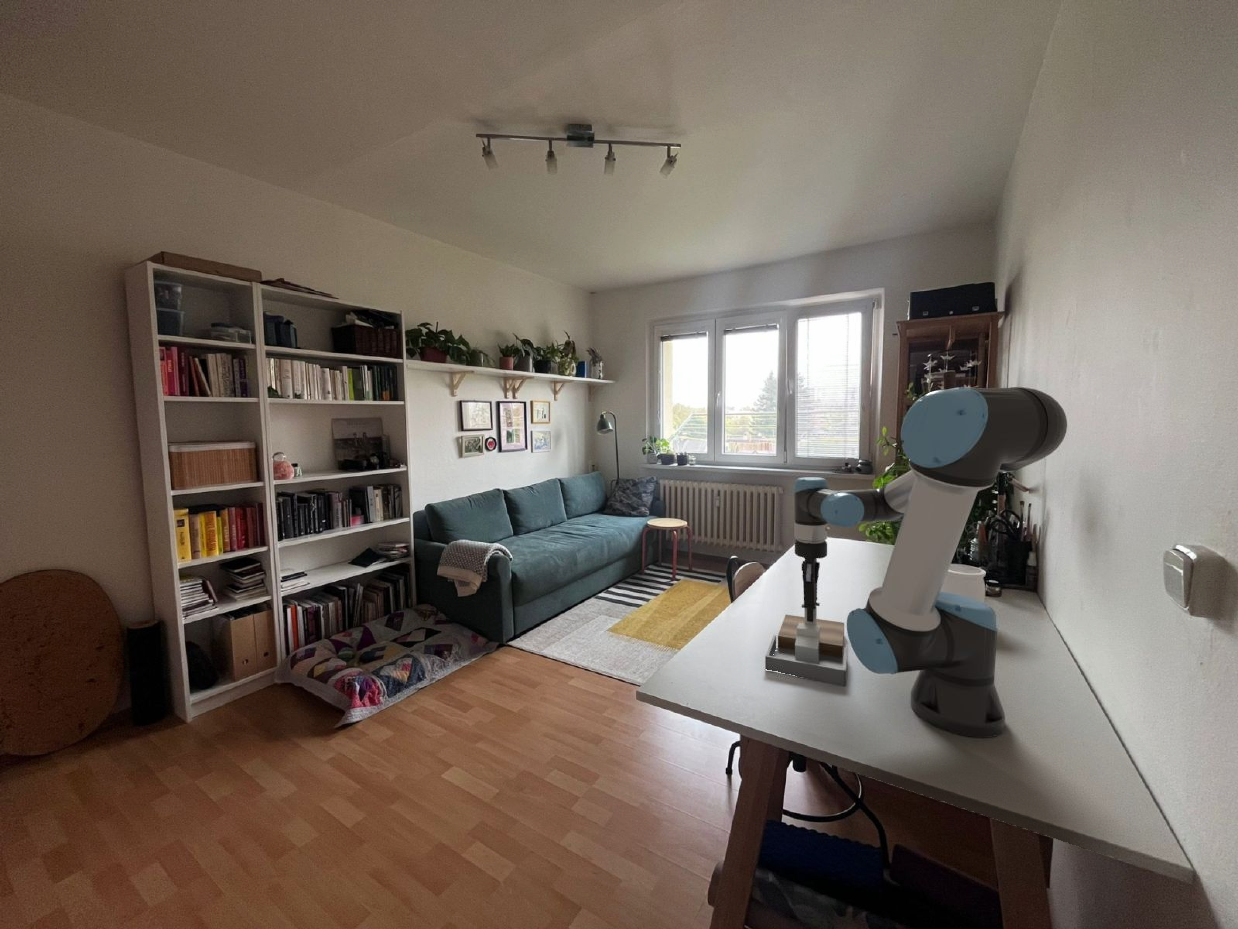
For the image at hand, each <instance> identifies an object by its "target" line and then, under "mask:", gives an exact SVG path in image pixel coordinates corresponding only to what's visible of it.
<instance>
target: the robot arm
mask: <svg viewBox="0 0 1238 929" xmlns="http://www.w3.org/2000/svg"><path fill="white" fill-rule="evenodd" d="M1067 419H1068V418H1067V415H1066V413H1065V410H1064V408H1063V407H1062V406H1061V405H1060V403H1059V402H1058V400H1056V399H1055V398H1054V397H1052V396H1051V395H1049V394H1047V393H1045V392H1043V391H1041V390H1038V389H1036V388H1029V387H1023V386H1019V387H1018V386H1014V387H965V386H961V387H960V386H959V387H954V388H949V389H938V390H934V391H931V392H929V393H927V394H925V395H924V396H921V397H920V398H919V399H917V400H916V401H915V402H914V403H913V404H912V406H910V408H909V409H908V411H907V412H906V414H905V416H904V418H903V421H902V425H901V428H900V440H901V441H903V443H901V447H902V450H903V452H904V454H905V456H906V457H907V459H909V462H908V467H909V468H910V470H909V471H907V472H906V473H904V474H902V475H900V476H899V477H897V478H896V479H894V480H892V481H891V482H889V483H887V484H884V485H883V486H882V487H879V488H869V489H868V488H867V489H866V488H865V489H851V490H850V489H849V490H848V489H847V490H833V489H829V486H828V481H827V479H826V478H824V477H820V476H819V477H816V476H814V477H813V476H810V477H809V476H804V477H798V478H797V479H796V480H795V481H794V482H795V483H794V492H793V496H794V528H793V529H794V531H793V532H794V533H793V534H794V538H795V540H794V554H795V555H796V556H797V557H800V558H803V559H804V560H802V563H801V571H802V581H803V604H801V608H803V609H804V617H805V624H811V625H817V619H818V617H817V615H818V614H817V610H818V607H820V606H821V605H820V602H817V601H818V581H819V575H820V574H819V573H820V572H819V571H820V569H821V568H820V566H821V565H820V563H821V562H820V561H818V560H817V559H824V558H826V557H827V556H828V542H827V539H828V532H830V531H831V528H830V527H827V526H828V524H830V525H832V526H834V527H838V528H840V527H841V528H845V529H848V528H852V527H855V526H856V525H858V524H865V523H878V522H881V523H882V522H900V521H901V523H900V526H899V531H898V532H897V536H896V539H895V543H894V546H893V548H892V549H893V550H892V552H891V556H890V558H889V561H888V562H889V563H888V566H887V568H886V572H885V575H884V579H883V581H882V585H881V586H879V587H876V588H874V589H872V590H871V591H870V593H869V595H868V599H867V601H866V605H865V607H864V608H861V607H859V608H856V609H853V610H851V611H849V613H848V614H847V617H846V633H847V637H848V640H849V643H850V646H851V648H852V650H853V653H854V654H855V656H856V657H857V659H858V661H859V662H860V663H861V664H862V666H864V667H865V668H866V669H868V670H869V671H870V672H871V673H874V674H879V675H881V674H882V675H883V674H884V675H885V674H887V675H888V674H890V675H895V674H900V673H902V674H903V673H908V672H909V673H910V672H917V671H918V675H917V677H916V679H915V681H914V683H913V685H912V688H911V690H910V707H911V708H912V709H913V711H914V712H915V714H916V715H917V716H919V717H920V718H921V719H922V720H924V721H926V722H927V723H929V724H931V725H933V726H935V727H937V728H940V729H942V730H944V731H947V732H950V733H953V734H956V735H961V736H967V737H972V738H992V737H996V736H998V735H1000V734H1002V733H1003V732H1004V730H1005V727H1006V726H1005V725H1006V716H1005V715H1006V714H1005V710H1004V708H1003V705H1002V702H1001V700H1000V697H999V696H1000V695H999V694H998V691H997V688H996V685H995V684H996V683H995V673H996V672H995V671H996V658H997V657H996V656H997V655H996V654H997V635H998V634H997V632H998V631H999V629H998V628H997V615H996V611H995V610H994V609H993V607H991V606H990V605H988V604H987V603H985V602H984V603H983V602H980V601H978V600H975V599H972V598H969V597H966V596H962V595H958V594H953V593H947V592H940V591H941V588H942V586H943V583H944V580H945V578H946V575H947V572H948V570H949V567H950V564H952V561H953V558H954V556H955V553H956V551H957V548H958V545H959V542H960V540H961V537H962V535H963V532H964V529H965V527H966V523H967V522H968V518H969V516H970V513H971V512H972V508H973V505H974V504H975V503H974V502H975V500H976V497H977V495H978V492H980V491H982V490H986V489H987V488H990V487H993V485H994V484H995V482H996V480H997V476H998V474H999V473H1000V472H1004V473H1012V472H1016V471H1018V470H1021V469H1023V468H1025V467H1028V466H1029V465H1030V466H1031V465H1033V464H1034V463H1037V462H1038V461H1040V460H1043V459H1044V458H1046V457H1048V456H1049V455H1051V454H1052V453H1054V452H1055V451H1056V450H1057V449H1058V448H1059V447H1060V446H1061V444H1062V443H1063V442H1064V439H1065V437H1066V434H1067V429H1068V420H1067Z"/></svg>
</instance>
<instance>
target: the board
mask: <svg viewBox="0 0 1238 929" xmlns="http://www.w3.org/2000/svg"><path fill="white" fill-rule="evenodd" d="M799 623H804V624H805V616H800V615H791V614H785V616H784V618H783V621H782V623H781V626H780V629H779V631H778V634H777V647H781V648H786V649H792V650H795V642H796V636H797V626H798V624H799ZM817 626H820V643H819V654H822V655H828V656H834V657H840V658H844V644H845V643H844V640H845V622H842V621H841V622H840V621H836V620H835V621H834V620H827V619H821V618H820V619H819V618H817Z"/></svg>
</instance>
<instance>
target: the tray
mask: <svg viewBox="0 0 1238 929" xmlns="http://www.w3.org/2000/svg"><path fill="white" fill-rule="evenodd" d="M776 647H778V646H777V634H773V636H772V638H771V641H770V643H769V646H768V648H767V651H766V653H765V656H764V658H765V660H764V662H765V663H764V664H765V669H767V670H772V671H778V672H781V673H785V674H791V675H795V676H797V678H800V677H803V678H802V679H805V678H808V679H807V680H811V679H813V680H812V681H817V682H821V681H822V682H821V683H827V684H832V685H837V684H838V686H843V687H846V686H847V671H848V668H847V666H848V664H847V663H848V646H845V645H843V658H840V657H834V656H828V655H822V654H819V663H818V664H812V663H807V662H801V661H796V660H795V650H792V649H786V648H781V647H778V648H776ZM775 650H777V651H775ZM773 654H774V655H773ZM785 674H784V675H785ZM795 676H794V677H795Z"/></svg>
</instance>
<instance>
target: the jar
mask: <svg viewBox="0 0 1238 929" xmlns="http://www.w3.org/2000/svg"><path fill="white" fill-rule="evenodd" d="M986 573H987V572H986V571H985V570H984V569H982V568H979V567H975V566H971V565H967V564H959V563H951V564H950V567H949V570H948V572H947V575H946V578H945V580H944V583H943V586H942V588H941V591H940V592H947V593H953V594H958V595H962V596H966V597H969V598H972V599H975V600H978V601H980V602H983V603H985V598H986V585H985V579H984V577H986Z"/></svg>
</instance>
